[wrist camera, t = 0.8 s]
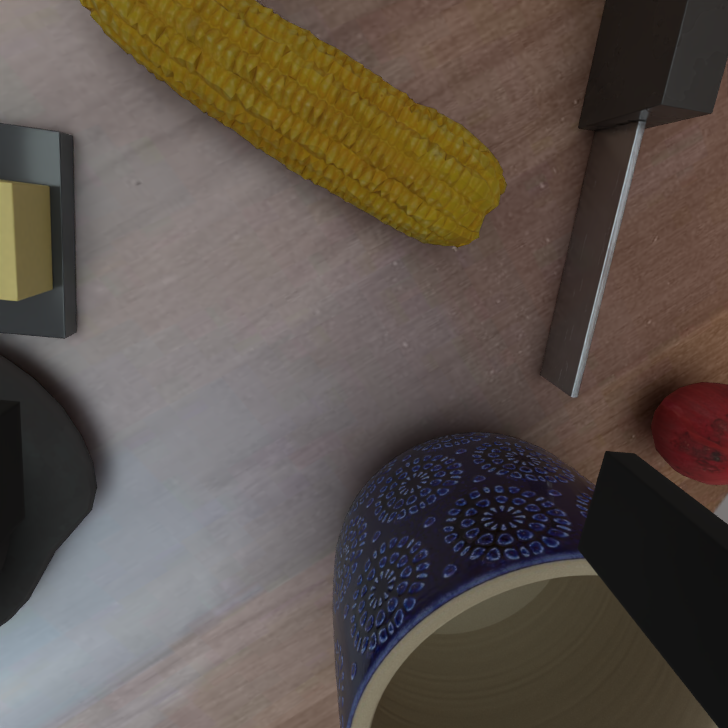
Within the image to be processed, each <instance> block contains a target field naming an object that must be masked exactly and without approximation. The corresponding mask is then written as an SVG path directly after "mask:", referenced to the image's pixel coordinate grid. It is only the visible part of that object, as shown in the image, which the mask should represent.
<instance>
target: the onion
mask: <svg viewBox="0 0 728 728" xmlns="http://www.w3.org/2000/svg"><path fill="white" fill-rule="evenodd" d="M651 431H652V435H653V439H654V443H655V448H656V450H657V452H658V453H659V454H660V455H661V456H662V457H663V458H664V460H665V461H666V462H667V463H668V464H669V465H670V466H671V467H672V468H673V469H674V470H675V471H677V472H679V473H680V474H682V475H683V476H686V477H689V478H691V479H694V480H697V481H699V482H702V483H705V484H711V485H726V484H728V385H726V384H720V383H708V382H701V383H695V384H691V385H687V386H684V387H681V388H678V389H677V390H675V391H674V392H672V393H671V394H670V395H668V396H667V397H665V398H664V399H663V401H662V402H661V404H660V405H659V406H658V408H657V409H656V410H655V412H654V416H653V420H652V424H651Z"/></svg>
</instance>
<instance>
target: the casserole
mask: <svg viewBox="0 0 728 728" xmlns="http://www.w3.org/2000/svg"><path fill="white" fill-rule="evenodd" d="M0 400H8V401H20V411H21V434H22V457H23V480H24V502H25V519H24V520H23V521H22V522H21V523H20V525H19V526H18V527H17V528H16V529H15V530H14V531H13V532H12V534H11V535H10V536H9V537H8V538H7V539H6V540H5V542H4V543H3V544H2V545H1V546H0V626H1V625H3V624H4V623H6V622H7V621H8V620H10V619H11V618H12V617H13V616H14V615H15V614H16V613H17V611H18V610H19V609H20V608H21V607H22V606H23V605H24V604H25V603H26V602H27V601H28V600H29V598H30V597H31V595H32V593H33V591H34V589H35V588H36V586H37V584H38V582H39V580H40V579H41V577H42V575H43V573H44V571H45V570H46V568H47V566H48V564H49V562H50V560H51V559H52V557H53V555H54V553H55V551H56V550H57V549H58V548H59V547H60V546H61V545H62V543H63V542H64V541H65V540H66V539H67V538H68V537H69V535H70V534H71V533H72V532H73V531H74V530H75V528H76V527H77V526H78V525H79V524H80V523H81V522H82V520H83V519H84V518H85V517H86V516H87V515H88V514H89V512H90V511H91V510H92V507H93V503H94V499H95V494H96V490H97V484H96V478H95V472H94V466H93V462H92V459H91V457H90V455H89V452H88V450H87V448H86V445H85V443H84V441H83V438H82V436H81V434H80V433H79V431H78V430H77V428H76V427H75V425H74V424H73V422H72V421H71V419H70V418H69V416H68V415H67V413H66V412H65V410H64V409H63V407H62V406H61V405H60V404H59V403H58V402H57V401H56V400H55V399H54V398H53V397H52V396H51V395H50V394H49V393H48V392H47V391H46V390H45V389H44V388H43V387H42V386H41V385H40V384H39V383H38V382H37V381H36V380H35V379H34V378H32V377H31V376H30V375H28V374H27V373H26V372H24V371H23V370H21V369H20V368H19V367H17V366H16V365H15V364H13V363H12V362H10V361H9V360H8V359H6V358H4V357H2V356H0Z"/></svg>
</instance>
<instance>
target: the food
mask: <svg viewBox="0 0 728 728" xmlns="http://www.w3.org/2000/svg"><path fill="white" fill-rule="evenodd" d="M80 2H81V4H82V6H84V7H85V8H87V9H89V10H90V11H91V14H90V15H91V16H92V18H93V19H94V20H95V21H96V22H97V23H98V24H99V25H100V26H101V27H102V29H103V31H104V33H105V34H106V35H107V36H109V37H110V38H111V39H112V40H113V41H114V42H115V43H117V44H118V45H119V46H120V47H121V48H122V49H123V50H124V51H125V52H126V53H127V54H132V56H133V57H134V58H135V60H136V61H137V63H138V64H141V65H144V66H145V67H146V69H147V70H148V71H149V72H150V73H154V75H155V77H156V79H158V80H160V81H165V82H166V83H167V84H168V85H169V86H170V87H171V88H172V89H173V90H174V91H175V92H177V93H178V94H179V95H180V96H181V97H182V98H184V99H187V100H189V101H190V102H191V103H192V104H194V105H195V106H197V107H198V108H199V109H200V110H201V111H202V112H203V113H206V112H207V113H208V116H211V117H213V118H215V119H217V120H218V121H219V122H221V123H223V124H224V126H227V127H230V128H231V129H233V130H234V131H236V132H237V133H238V134H239V135H240V136H242V137H243V138H245V139H246V140H247V141H249V142H250V143H251V144H252V145H253V146H254V147H255V148H257V149H261V150H262V151H264V152H265V153H266V154H268V155H270V156H271V157H273V158H275V159H277V160H278V161H279V162H281V163H282V164H285V165H286V167H287V169H289V170H291V171H293V172H295V173H297V174H299V175H301V176H302V177H303V178H304V179H306V180H311V181H312V182H313V183H314V184H315V185H319V186H321V187H323V188H326V189H327V190H328V191H329V192H330V193H333V194H335V195H337V196H339V197H341V198H342V199H343V200H344V201H345V202H349V203H351V204H352V205H354V206H356V207H357V208H359V209H361V210H363V211H365V212H367V213H368V214H370V215H372V216H374V217H375V218H377V219H378V220H380V221H381V222H382V223H384V224H386V225H390V226H391V227H393V228H394V229H396V230H398V231H400V232H403V233H405V235H407V236H409V237H413V238H415V239H417V240H419V241H420V242H422V243H429V244H433V245H442V246H456V247H457V248H458V247H460V246H463V245H467V244H470V243H471V242H472V241H473V240H475V239H477V238H479V231H480V228H481V225H482V223H483V220H484V217H485V215H486V214H488V213H489V212H491V211H492V210H493V209H495V208H496V207H497V206H498V205H499V201H500V195H501V194H503V193H504V192H505V189H506V186H507V184H506V182H505V178H504V177H503V175H502V173H503V170H502V168H501V166H500V164H499V162H498V161H497V159H496V158H495V157H494V155H493V154H492V153H491V152H490V150H489V149H488V148H487V147H486V146H485V145H484V144H483V143H481V142H480V141H479V140H478V139H477V138H476V137H475V136H474V135H472V134H471V133H470V132H469V131H468V130H467V129H466V128H464V127H463V126H462V125H461V124H459V123H456V122H455V121H453V120H451V119H449V118H448V117H446V116H445V115H443V114H440V113H438V112H437V110H436V109H433V108H429V107H426V106H423V105H420V104H416V103H415V102H414V101H413V100H412V99H410V98H409V97H408V96H407V94H406V93H404V92H401V91H399V90H397V89H396V88H394V87H392V86H391V85H390V84H388V83H387V82H385V81H383V79H382V78H381V77H380V76H378V75H376V74H373V73H372V72H371V71H370V70H369V69H366V68H364V66H363V65H362V64H360V63H358V62H357V61H355V60H353V59H352V58H350V57H349V56H347V55H346V54H344V53H343V52H341V51H340V50H339V49H337V48H335V47H333V46H331V45H328V44H326V43H325V42H323V41H321V40H319V39H318V38H317V37H315V36H314V35H313V34H311V33H310V31H309V30H306V29H303V28H300V27H298V26H296V25H294V24H292V23H290V22H288V21H286V20H284V19H282V18H281V17H280V16H279V15H278V14H274V13H273V10H272V9H270V8H266V7H264V6H262V5H261V4H259V3H258V2H257V1H255V0H80Z"/></svg>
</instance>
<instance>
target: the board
mask: <svg viewBox="0 0 728 728" xmlns="http://www.w3.org/2000/svg"><path fill="white" fill-rule="evenodd" d="M0 180H8V181H15V182H23V183H31V184H39V185H47V186H49V187H50V217H51V248H52V279H53V289H52V290H50V291H47V292H44V293H41V294H38V295H35V296H32V297H28V298H25V299H22V300H19V301H9V300H0V333H9V334H20V335H31V336H42V337H53V338H64V339H65V338H67V337H69V336H71V335H72V334H74V333H76V332H77V323H76V274H75V226H74V178H73V136H72V135H69V134H66V133H63V132H60V131H53V130H46V129H39V128H32V127H25V126H18V125H11V124H4V123H0Z"/></svg>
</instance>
